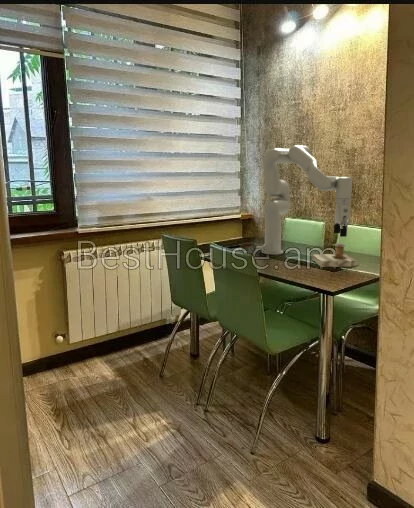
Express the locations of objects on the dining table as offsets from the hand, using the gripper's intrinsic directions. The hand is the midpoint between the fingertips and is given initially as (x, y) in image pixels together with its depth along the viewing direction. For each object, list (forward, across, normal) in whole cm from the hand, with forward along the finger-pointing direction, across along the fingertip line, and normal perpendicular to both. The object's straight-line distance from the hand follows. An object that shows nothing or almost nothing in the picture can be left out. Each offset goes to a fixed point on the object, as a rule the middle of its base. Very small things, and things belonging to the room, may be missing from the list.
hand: (339, 234), depth 211 cm
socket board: (+15, -1, +2) cm, 15 cm away
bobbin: (+15, 0, -1) cm, 15 cm away
